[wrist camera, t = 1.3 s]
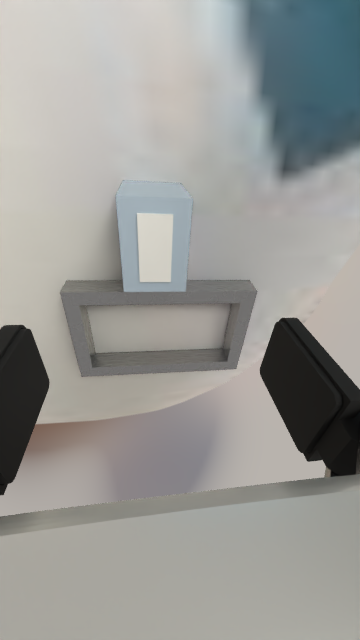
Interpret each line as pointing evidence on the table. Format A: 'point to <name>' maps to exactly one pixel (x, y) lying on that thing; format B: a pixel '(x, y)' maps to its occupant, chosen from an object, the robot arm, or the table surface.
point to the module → (154, 235)
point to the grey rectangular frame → (196, 293)
